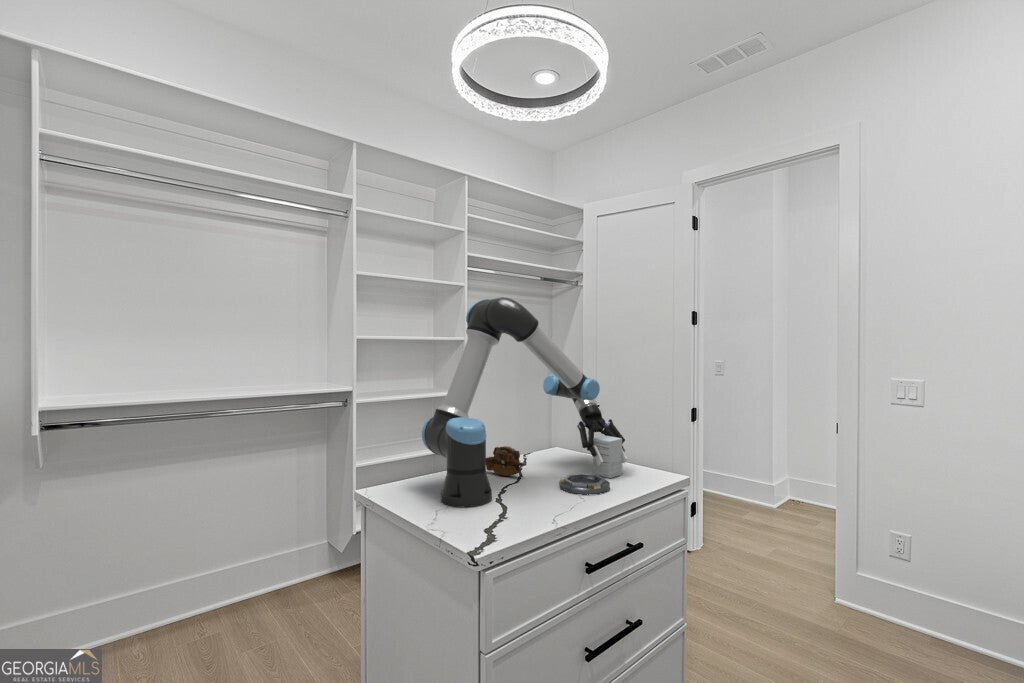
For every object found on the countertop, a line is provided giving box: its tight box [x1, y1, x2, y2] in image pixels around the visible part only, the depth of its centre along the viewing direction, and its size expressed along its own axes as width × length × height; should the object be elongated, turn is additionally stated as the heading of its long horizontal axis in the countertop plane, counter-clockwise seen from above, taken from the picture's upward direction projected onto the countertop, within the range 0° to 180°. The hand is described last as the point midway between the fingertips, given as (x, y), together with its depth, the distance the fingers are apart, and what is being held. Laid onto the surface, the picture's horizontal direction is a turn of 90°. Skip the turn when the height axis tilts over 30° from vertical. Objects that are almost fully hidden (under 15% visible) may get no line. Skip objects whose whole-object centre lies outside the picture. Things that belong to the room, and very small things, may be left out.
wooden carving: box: [486, 445, 526, 477], centre depth 175 cm, size 16×5×10 cm, turn 60°
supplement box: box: [592, 435, 623, 479], centre depth 173 cm, size 7×7×13 cm
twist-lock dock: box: [558, 473, 611, 496], centre depth 159 cm, size 16×16×3 cm
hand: (613, 462), depth 171 cm, fingers closed on supplement box, 9 cm apart
